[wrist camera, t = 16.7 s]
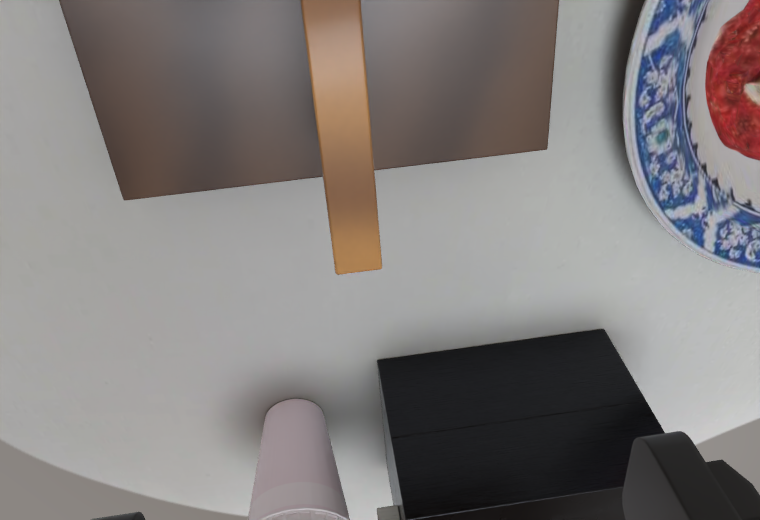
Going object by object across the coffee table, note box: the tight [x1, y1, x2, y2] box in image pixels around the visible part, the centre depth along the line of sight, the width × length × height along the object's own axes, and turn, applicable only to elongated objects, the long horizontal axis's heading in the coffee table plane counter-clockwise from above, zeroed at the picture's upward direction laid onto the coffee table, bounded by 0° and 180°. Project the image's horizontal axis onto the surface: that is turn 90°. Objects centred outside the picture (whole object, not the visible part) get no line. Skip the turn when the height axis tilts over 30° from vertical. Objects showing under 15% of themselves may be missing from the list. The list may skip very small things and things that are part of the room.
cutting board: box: [59, 0, 559, 200], centre depth 30 cm, size 20×13×2 cm, turn 94°
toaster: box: [377, 329, 665, 520], centre depth 41 cm, size 15×10×11 cm, turn 94°
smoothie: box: [248, 399, 350, 520], centre depth 39 cm, size 6×6×14 cm
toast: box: [300, 0, 382, 275], centre depth 25 cm, size 10×2×10 cm, turn 4°
